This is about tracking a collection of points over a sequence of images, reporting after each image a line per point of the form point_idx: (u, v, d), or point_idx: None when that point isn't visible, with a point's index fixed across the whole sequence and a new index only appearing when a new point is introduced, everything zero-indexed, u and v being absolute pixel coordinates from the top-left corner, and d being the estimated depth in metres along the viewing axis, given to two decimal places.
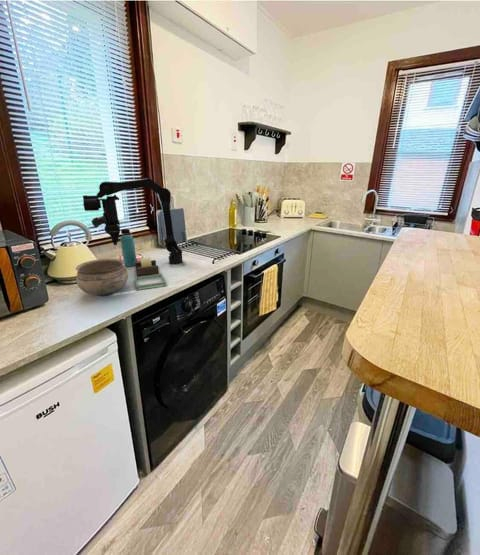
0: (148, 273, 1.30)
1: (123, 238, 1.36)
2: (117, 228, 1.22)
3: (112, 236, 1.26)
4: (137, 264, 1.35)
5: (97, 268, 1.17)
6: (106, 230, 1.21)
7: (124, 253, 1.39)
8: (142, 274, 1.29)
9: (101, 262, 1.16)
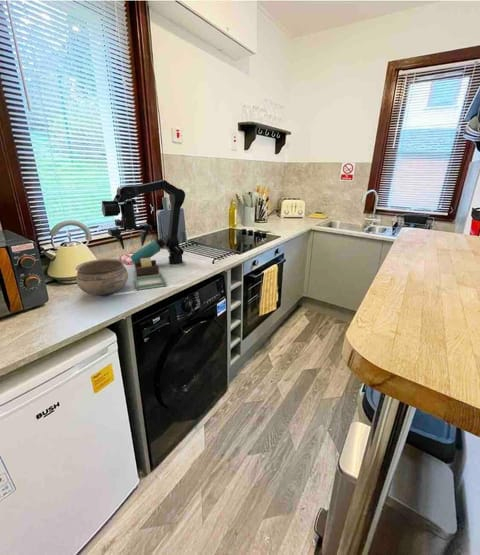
0: (148, 273, 1.30)
1: (154, 246, 1.37)
2: (111, 233, 1.21)
3: (118, 240, 1.26)
4: (137, 264, 1.35)
5: (97, 268, 1.17)
6: (108, 232, 1.24)
7: (141, 253, 1.38)
8: (142, 274, 1.29)
9: (101, 262, 1.16)
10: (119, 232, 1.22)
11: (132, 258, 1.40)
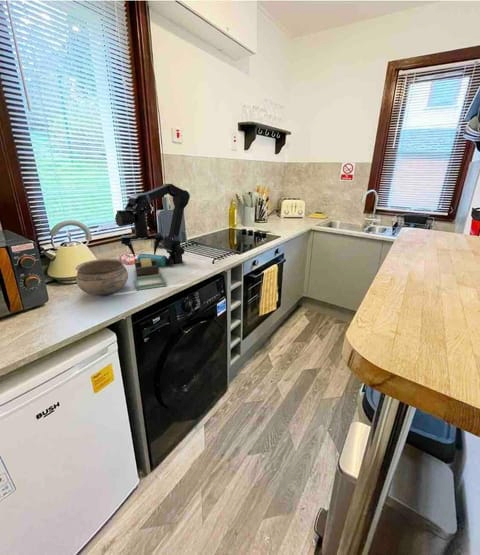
0: (148, 273, 1.30)
1: (162, 259, 1.40)
2: (121, 241, 1.23)
3: None
4: (137, 264, 1.35)
5: (97, 268, 1.17)
6: None
7: (149, 257, 1.41)
8: (142, 274, 1.29)
9: (101, 262, 1.16)
10: (128, 240, 1.23)
11: (140, 255, 1.43)
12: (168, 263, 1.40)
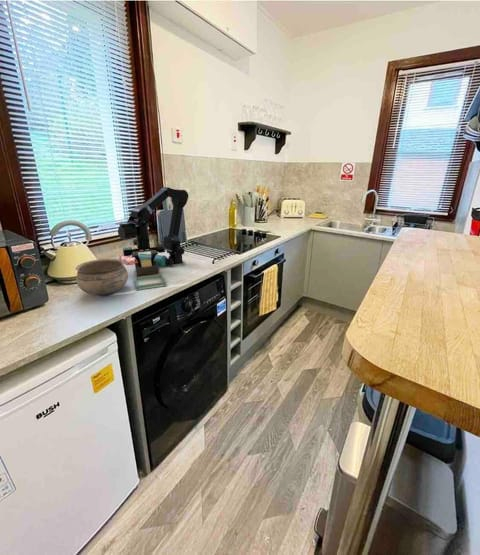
0: (148, 273, 1.30)
1: (162, 259, 1.40)
2: (123, 253, 1.25)
3: None
4: (137, 264, 1.35)
5: (97, 268, 1.17)
6: None
7: (149, 257, 1.41)
8: (142, 274, 1.29)
9: (101, 262, 1.16)
10: (131, 252, 1.25)
11: (140, 255, 1.43)
12: (168, 263, 1.40)
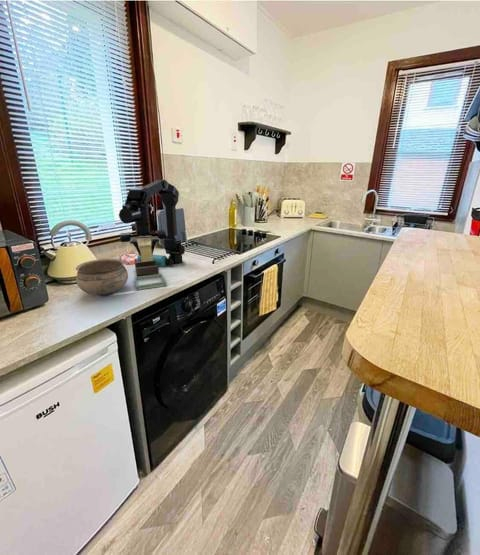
0: (148, 273, 1.30)
1: (162, 259, 1.40)
2: (120, 238, 1.12)
3: None
4: (137, 264, 1.35)
5: (97, 268, 1.17)
6: None
7: None
8: (142, 274, 1.29)
9: (101, 262, 1.16)
10: (128, 238, 1.12)
11: None
12: (168, 263, 1.40)
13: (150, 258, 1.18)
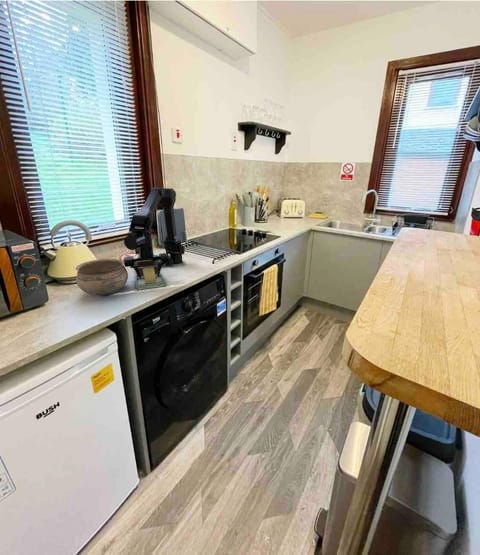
0: None
1: None
2: (124, 263, 1.13)
3: None
4: (137, 264, 1.35)
5: (97, 268, 1.17)
6: None
7: None
8: (142, 274, 1.29)
9: (101, 262, 1.16)
10: (132, 263, 1.14)
11: None
12: (168, 263, 1.40)
13: (153, 281, 1.19)
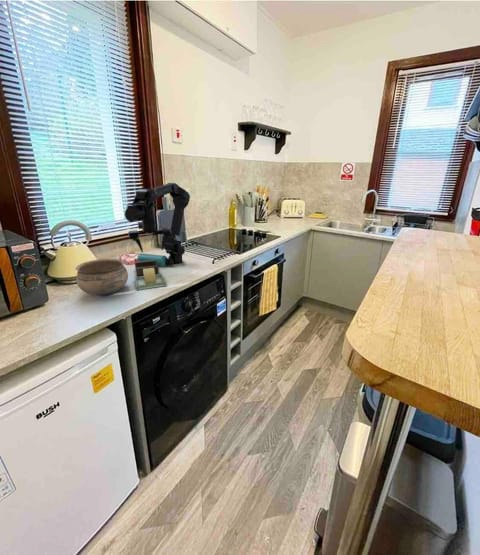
0: None
1: (162, 259, 1.40)
2: (129, 236, 1.22)
3: None
4: (137, 264, 1.35)
5: (97, 268, 1.17)
6: None
7: (149, 257, 1.41)
8: (142, 274, 1.29)
9: (101, 262, 1.16)
10: (136, 235, 1.22)
11: (140, 255, 1.43)
12: (168, 263, 1.40)
13: (154, 282, 1.19)
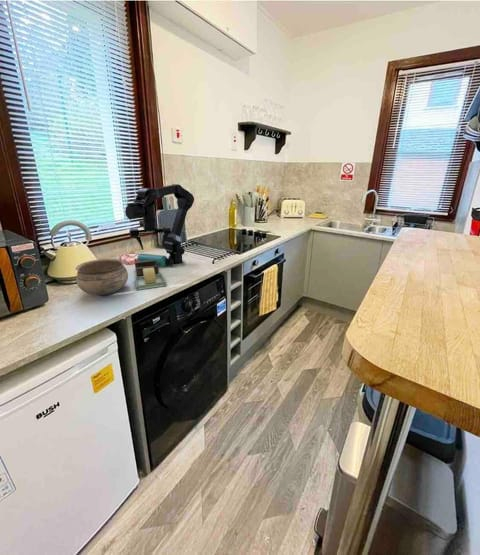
0: None
1: (162, 259, 1.40)
2: None
3: None
4: (137, 264, 1.35)
5: (97, 268, 1.17)
6: None
7: (149, 257, 1.41)
8: (142, 274, 1.29)
9: (101, 262, 1.16)
10: (137, 233, 1.24)
11: (140, 255, 1.43)
12: (168, 263, 1.40)
13: (153, 281, 1.19)
